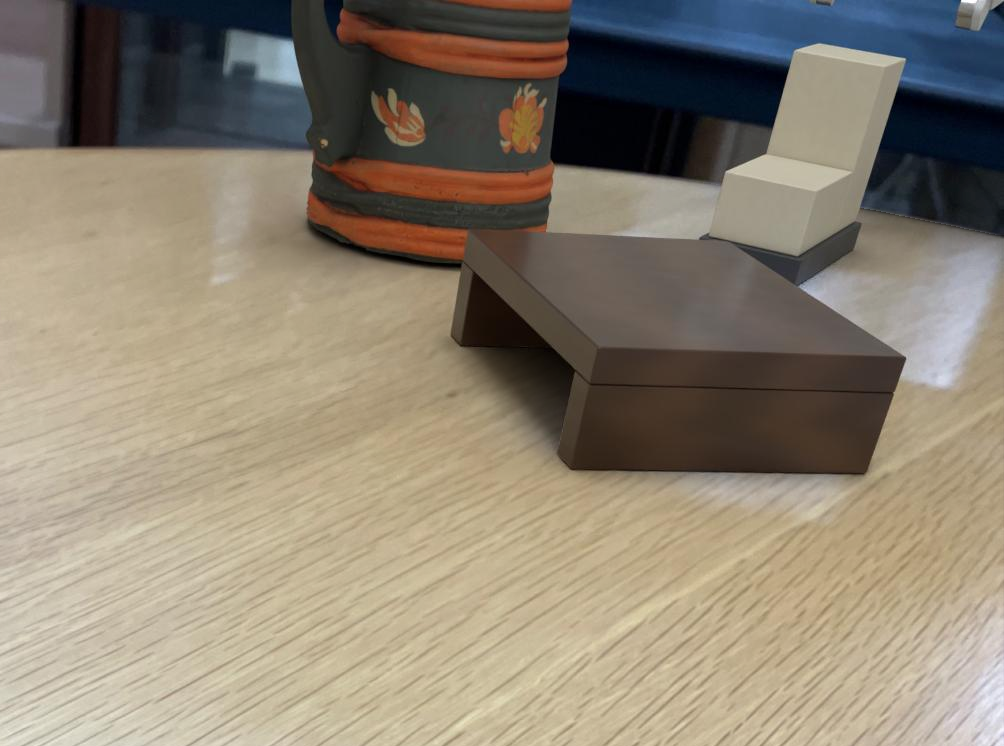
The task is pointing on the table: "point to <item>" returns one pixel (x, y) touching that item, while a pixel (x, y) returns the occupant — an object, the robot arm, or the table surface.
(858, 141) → the blocky cream boot
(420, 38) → the beer stein
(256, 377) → the table surface
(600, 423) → the shoe shelf
